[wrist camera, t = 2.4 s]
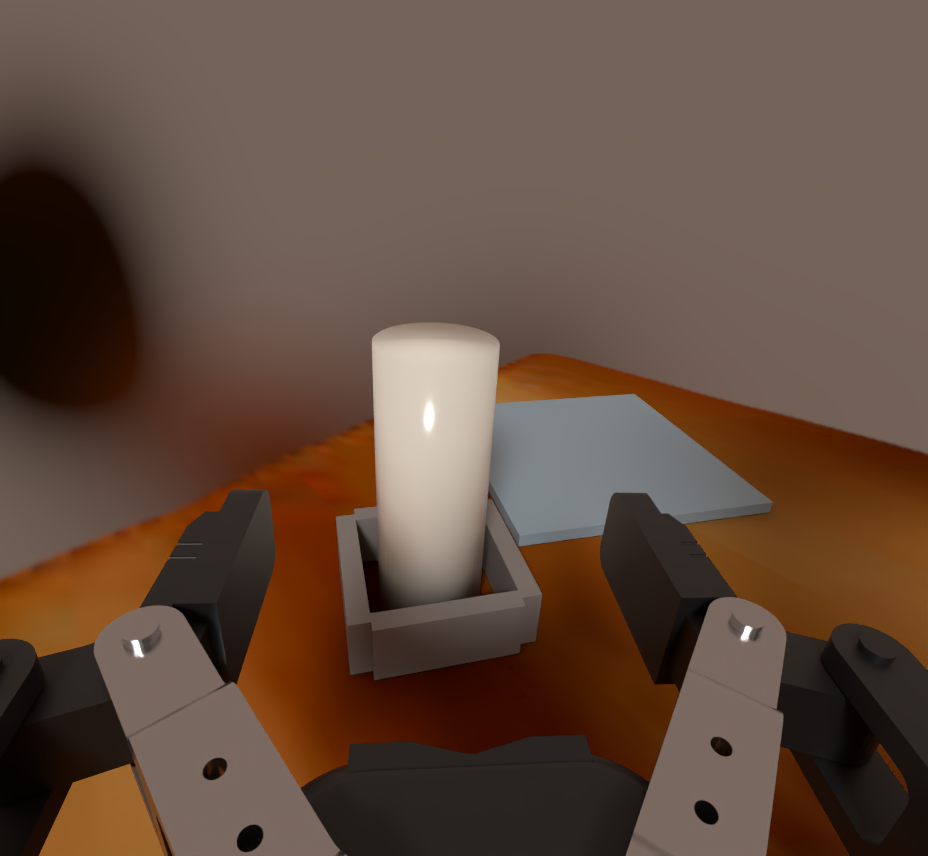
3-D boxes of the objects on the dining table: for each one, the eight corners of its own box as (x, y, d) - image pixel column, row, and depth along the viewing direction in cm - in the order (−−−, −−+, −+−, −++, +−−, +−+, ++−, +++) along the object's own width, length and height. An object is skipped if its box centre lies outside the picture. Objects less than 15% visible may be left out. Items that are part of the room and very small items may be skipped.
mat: (632, 401, 53) (634, 394, 53) (769, 512, 38) (773, 502, 38) (448, 415, 49) (448, 406, 48) (518, 546, 33) (519, 535, 33)
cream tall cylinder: (464, 558, 32) (479, 320, 26) (491, 627, 28) (517, 360, 21) (373, 571, 31) (365, 324, 25) (386, 645, 27) (380, 367, 20)
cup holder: (485, 535, 34) (489, 494, 33) (539, 649, 27) (546, 602, 25) (338, 554, 32) (335, 511, 31) (351, 684, 25) (348, 635, 23)
